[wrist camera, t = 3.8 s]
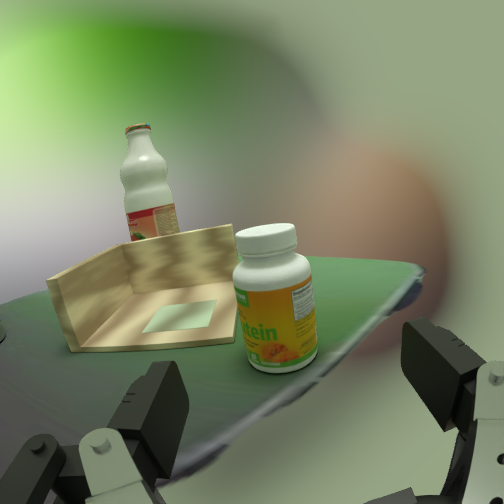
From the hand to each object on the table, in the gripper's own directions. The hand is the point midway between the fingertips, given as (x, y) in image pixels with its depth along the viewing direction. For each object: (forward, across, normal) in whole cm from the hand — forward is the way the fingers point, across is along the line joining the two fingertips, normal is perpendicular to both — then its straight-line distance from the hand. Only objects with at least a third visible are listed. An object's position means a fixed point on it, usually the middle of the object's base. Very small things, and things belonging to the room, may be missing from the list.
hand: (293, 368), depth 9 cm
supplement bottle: (+11, 0, +7) cm, 13 cm away
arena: (+23, +13, +6) cm, 27 cm away
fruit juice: (+45, +20, +6) cm, 50 cm away
